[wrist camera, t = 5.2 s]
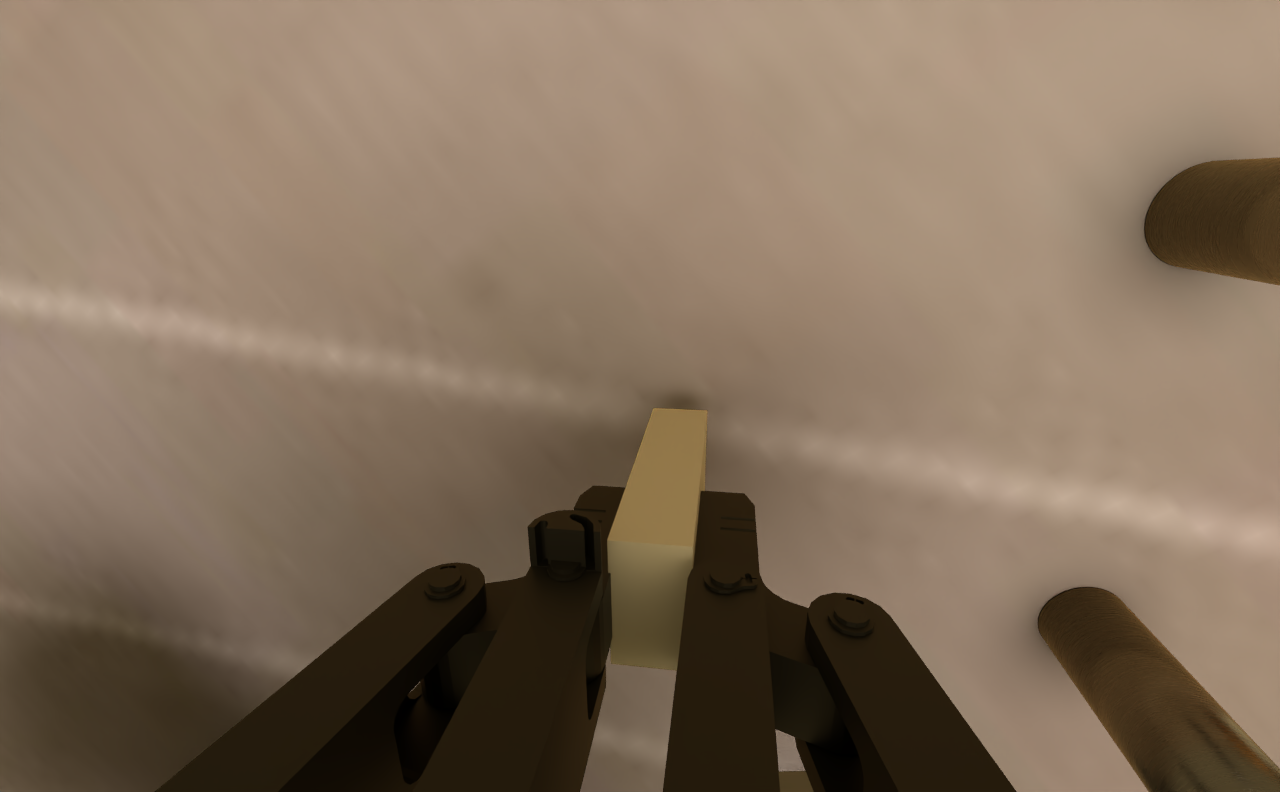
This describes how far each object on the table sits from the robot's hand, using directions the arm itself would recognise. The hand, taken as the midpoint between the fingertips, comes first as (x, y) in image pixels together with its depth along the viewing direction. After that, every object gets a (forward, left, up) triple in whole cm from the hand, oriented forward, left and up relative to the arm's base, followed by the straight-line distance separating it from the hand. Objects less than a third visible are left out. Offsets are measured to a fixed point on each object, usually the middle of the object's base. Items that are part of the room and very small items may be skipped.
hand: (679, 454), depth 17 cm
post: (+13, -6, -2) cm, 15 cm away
